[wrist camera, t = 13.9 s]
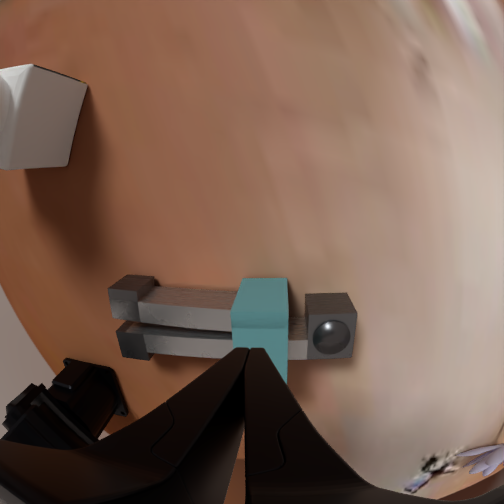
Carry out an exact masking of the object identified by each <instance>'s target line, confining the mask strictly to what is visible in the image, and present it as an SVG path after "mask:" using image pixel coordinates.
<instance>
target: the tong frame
mask: <svg viewBox="0 0 504 504" xmlns="http://www.w3.org/2000/svg"><path fill="white" fill-rule="evenodd" d="M356 320H357V311H356V310H355V308H354V306H353V304H352V302H351V300H350V298H349V296H348V294H347V293H319V294H305V317H289V318H288V360H307V359H333V358H350V357H352V351H353V344H354V336H355V329H356ZM116 334H117V338H118V342H119V345H120V349H121V353H122V356H123V357H126V358H133V359H140V360H148V361H149V360H150V359H151V358H152V356H153V355H154V353H158V354H168V355H179V356H191V357H204V358H223V357H224V356H225V355H227V354H228V353H229V352H230V351H232V350H233V340H232V332H231V331H218V330H206V329H195V328H185V327H176V326H167V325H159V324H151V323H144V322H136V321H129V320H126V321H125V322H124V323H123V324H122V325H121V326H120V327H119V328H118V329H117V330H116Z"/></svg>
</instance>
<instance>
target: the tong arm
mask: <svg viewBox="0 0 504 504" xmlns="http://www.w3.org/2000/svg"><path fill="white" fill-rule="evenodd" d="M108 293H109V300H110V305H111V311H112V316H113V318H116V319H123V320H129V321H136V322H144V323H151V324H159V325H167V326H176V327H185V328H195V329H206V330H218V331H231V332H232V327H231V315H230V311H231V308H232V306H233V303H234V300H235V298H236V295H237V292H236V291H219V290H203V289H188V288H174V287H161V286H155V280H154V276H141V275H126V276H125V277H123V278H122V279H120V280H119V281H117V282H116V283H115V284H113V285H112V286H110V287H109V288H108ZM288 318H289V305H288Z"/></svg>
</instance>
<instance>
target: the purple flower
mask: <svg viewBox="0 0 504 504" xmlns="http://www.w3.org/2000/svg"><path fill="white" fill-rule="evenodd" d="M493 449H494V450H493ZM490 450H491V451H490ZM487 451H489V452H487ZM484 452H487V453H485V454H483V455H481V456H479V457H477V458H475V459H474V460H472V461H470V462H469V463H467V464H466V465H464V466H463V467H466V466H469V465H472V464H475V463H477V462H478V463H477V464H476V465H475V466H474V467H473V468H472V469H471V470H470V471H469V474H474V473H478V472H481V471H482V472H483V476H487V475H489V474H490V473H492V472H493V471H494V470H495V469H496V468H497V466H498V465H499V464H502V463H501V462H503V463H504V443H502V444H498V445H495V446H487V447H481V448H476V449H472V450H469V451H466V452H463V453H460V454H457V455H455V456H472V455H477V454H481V453H484Z"/></svg>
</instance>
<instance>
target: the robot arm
mask: <svg viewBox="0 0 504 504" xmlns="http://www.w3.org/2000/svg"><path fill="white" fill-rule="evenodd" d="M63 363H64V365H65V368H64V369H63V370H62V371H61V372H60V373H59V374H58V375H57V376H56V377H55V378H54V379H53V381H52V384H53V385H52V386H51V387H50V388H49V389H48V390H47V389H46V387H45V386H44V385H43V384H42V383H41V384H40V385H39V386H36V385H34V384H32V383H31V384H30V385H29V386H28V387H27V388H26V389H25V390H24V391H23V392H22V393H21V394H20V395H18V396H17V397H16V398H15V399H14V400H12V401H11V402H10V403H9V404H8V405H7V406H6V412H7V415H6V416H5V418H6V420H5V421H4V422H3V423H2V425H3V426H4V427H5V428H6V429H7V430H8V432H7V433H6V434H5V435H4V436H3V437H2V438H1V439H0V504H223V503H224V500H225V497H226V493H227V489H228V486H229V483H230V479H231V475H232V472H233V468H234V464H235V461H236V457H237V453H238V450H239V446H240V442H241V438H242V435H243V431H244V429H245V477H246V480H245V483H246V496H245V504H504V485H502V486H499V487H497V488H495V489H493V490H491V491H490V492H487V493H486V494H483V495H481V496H478V497H476V498H472V499H467V500H462V501H443V500H436V499H429V498H423V497H418V496H413V495H408V494H403V493H398V492H394V491H390V490H386V489H382V488H378V487H376V486H374V485H372V484H370V483H368V482H367V481H365V480H364V479H363V478H361V477H360V476H359V475H358V474H357V473H356V472H355V471H354V470H353V469H352V468H351V467H350V466H349V465H348V464H347V463H346V462H345V461H344V460H343V459H342V458H341V457H340V456H339V455H338V454H337V453H336V452H335V450H334V449H333V448H332V447H331V446H330V445H329V444H328V443H327V442H326V441H325V440H324V438H323V437H322V436H321V435H320V434H319V433H318V431H317V430H316V429H315V427H314V426H313V425H312V423H311V422H310V420H309V419H308V417H307V416H306V414H305V413H304V411H302V408H301V407H300V405H299V403H298V402H297V400H296V399H295V397H294V396H293V394H292V392H291V391H290V389H289V388H288V386H287V384H286V383H285V381H284V380H283V378H282V376H281V375H280V373H279V371H278V370H277V368H276V367H275V365H274V363H273V362H272V360H271V358H270V357H269V355H268V353H267V352H266V350H265V349H264V348H254V347H252V348H250V349H249V348H248V347H236V348H234V349H233V350H232V351H230V352H229V353H228V354H227V355H225V356H224V357H223V358H222V359H220V360H219V361H218V362H217V363H215V364H214V365H213V366H212V367H210V368H209V369H208V370H206V371H205V372H204V373H203V374H201V375H200V376H199V377H197V378H196V379H195V380H193V381H192V382H191V383H189V384H188V385H187V386H186V387H184V388H183V389H182V390H180V391H179V392H178V393H176V394H175V395H173V396H172V397H171V398H169V399H168V400H167V401H166V402H164V403H162V404H161V405H160V406H158V407H157V408H155V409H154V410H152V411H151V412H149V413H148V414H146V415H145V416H143V417H142V418H140V419H139V420H137V421H135V422H133V423H132V424H130V425H128V426H126V427H124V428H123V429H121V430H119V431H117V432H115V433H113V434H111V435H109V436H107V437H105V438H103V439H101V440H98V437H99V436H100V435H101V433H102V431H103V430H104V428H105V427H106V425H107V424H108V422H109V421H110V419H111V418H112V416H113V415H114V414H116V415H120V416H125V417H126V416H127V415H128V410H127V407H126V405H125V402H124V400H123V397H122V394H121V392H120V389H119V386H118V383H117V380H116V378H115V375H114V372H113V370H112V369H111V368H110V367H107V366H101V365H97V364H92V363H87V362H83V361H78V360H74V359H70V358H65V359H64V360H63Z"/></svg>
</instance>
